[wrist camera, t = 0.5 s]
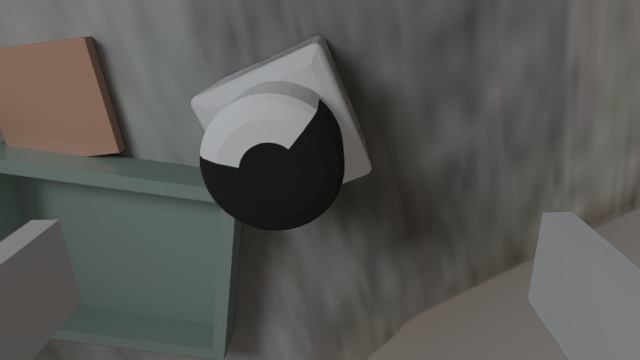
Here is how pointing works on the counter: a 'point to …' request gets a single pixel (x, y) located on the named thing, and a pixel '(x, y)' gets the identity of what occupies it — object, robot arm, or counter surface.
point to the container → (280, 138)
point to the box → (132, 247)
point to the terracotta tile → (57, 99)
